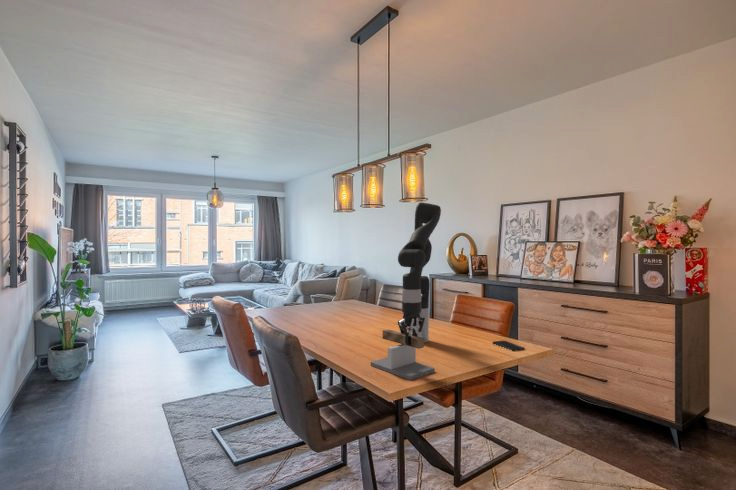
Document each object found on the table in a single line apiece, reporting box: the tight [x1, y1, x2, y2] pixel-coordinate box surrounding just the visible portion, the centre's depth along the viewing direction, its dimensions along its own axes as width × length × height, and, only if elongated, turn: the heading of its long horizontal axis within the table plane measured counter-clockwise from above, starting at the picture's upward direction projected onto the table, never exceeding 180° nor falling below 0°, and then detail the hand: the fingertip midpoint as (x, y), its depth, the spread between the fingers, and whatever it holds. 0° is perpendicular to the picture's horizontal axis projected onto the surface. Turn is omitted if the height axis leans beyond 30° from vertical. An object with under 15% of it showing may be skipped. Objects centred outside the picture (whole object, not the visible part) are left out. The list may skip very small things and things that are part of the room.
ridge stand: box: [370, 344, 436, 381], centre depth 156 cm, size 22×14×10 cm, turn 41°
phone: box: [492, 340, 526, 352], centre depth 190 cm, size 8×1×15 cm
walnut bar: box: [382, 328, 425, 350], centre depth 156 cm, size 20×3×4 cm, turn 41°
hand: (411, 344), depth 153 cm, fingers closed on walnut bar, 3 cm apart
